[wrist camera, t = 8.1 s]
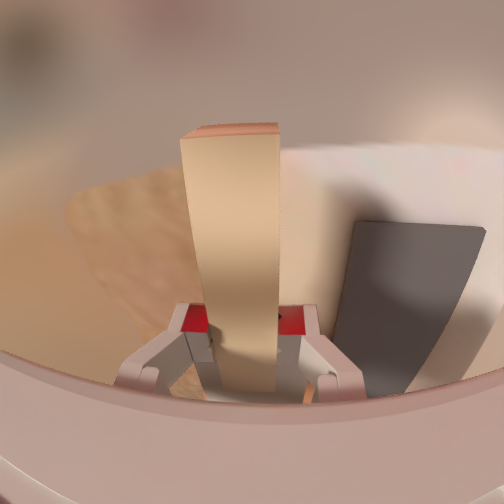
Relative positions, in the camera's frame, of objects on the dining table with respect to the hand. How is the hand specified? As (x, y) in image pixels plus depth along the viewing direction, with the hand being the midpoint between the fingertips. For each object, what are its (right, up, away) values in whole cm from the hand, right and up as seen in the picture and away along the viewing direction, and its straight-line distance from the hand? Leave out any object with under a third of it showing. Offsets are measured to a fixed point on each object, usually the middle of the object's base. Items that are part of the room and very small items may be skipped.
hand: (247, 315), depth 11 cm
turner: (0, -2, +2) cm, 3 cm away
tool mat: (+12, -5, +11) cm, 17 cm away
